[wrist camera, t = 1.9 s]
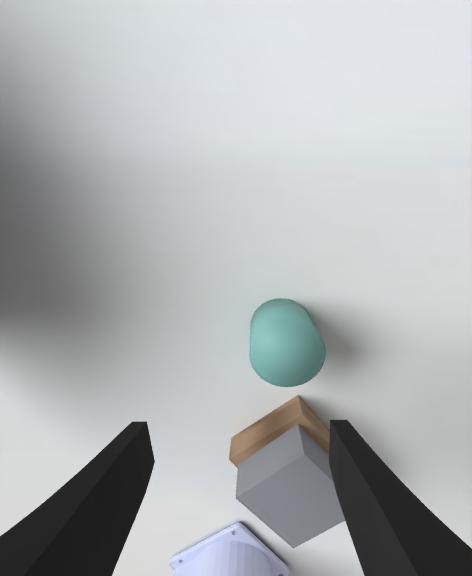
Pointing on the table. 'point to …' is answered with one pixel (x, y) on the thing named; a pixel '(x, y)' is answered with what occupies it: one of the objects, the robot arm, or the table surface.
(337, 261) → the table surface
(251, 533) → the robot arm
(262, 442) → the walnut base block
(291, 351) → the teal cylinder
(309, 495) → the grey top block
